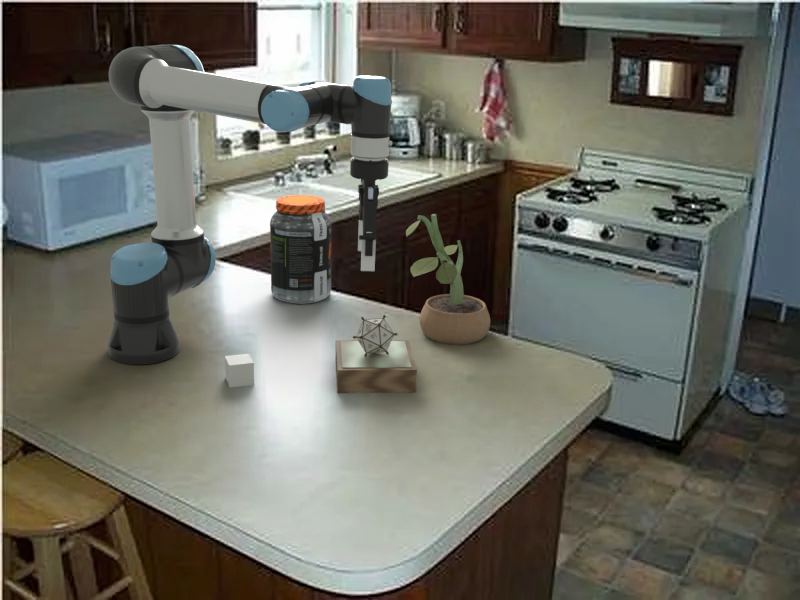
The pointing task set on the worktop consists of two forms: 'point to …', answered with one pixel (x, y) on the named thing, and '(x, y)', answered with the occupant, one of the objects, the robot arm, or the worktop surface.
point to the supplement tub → (300, 250)
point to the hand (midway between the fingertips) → (365, 260)
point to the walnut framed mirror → (375, 368)
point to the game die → (375, 335)
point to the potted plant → (449, 295)
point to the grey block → (239, 370)
